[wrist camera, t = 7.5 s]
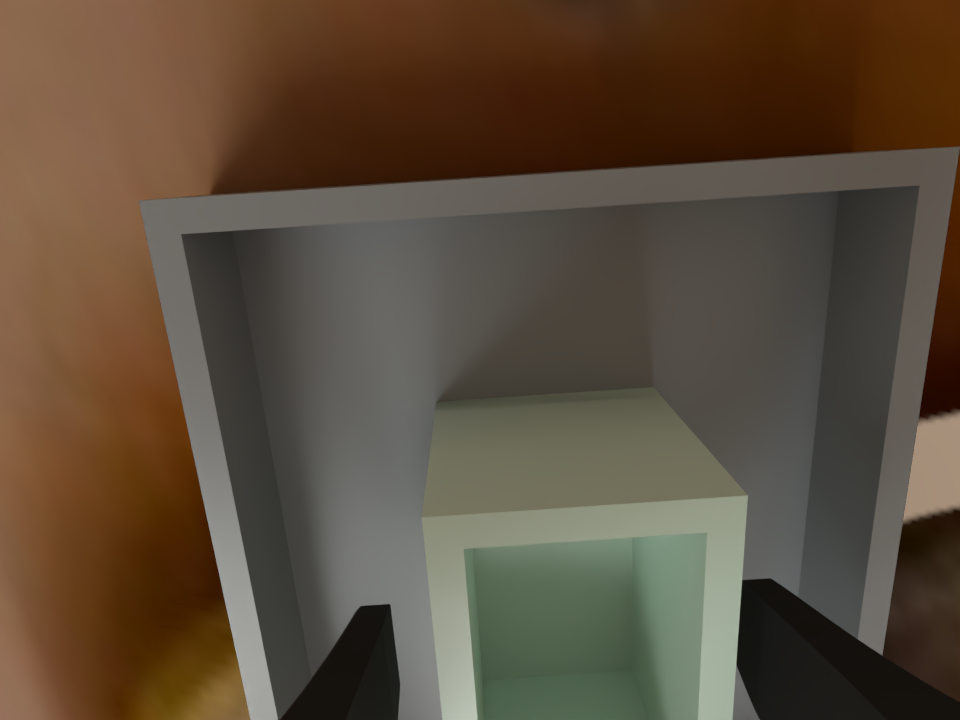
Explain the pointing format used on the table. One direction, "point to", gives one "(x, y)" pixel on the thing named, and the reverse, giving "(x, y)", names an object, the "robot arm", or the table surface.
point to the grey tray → (545, 368)
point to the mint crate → (581, 560)
